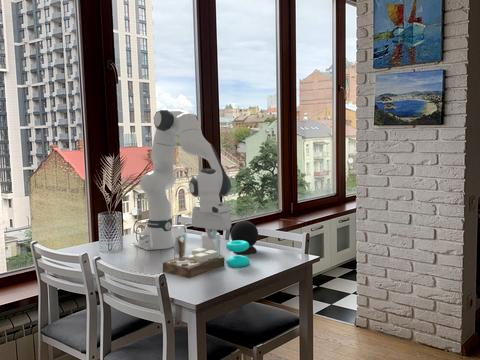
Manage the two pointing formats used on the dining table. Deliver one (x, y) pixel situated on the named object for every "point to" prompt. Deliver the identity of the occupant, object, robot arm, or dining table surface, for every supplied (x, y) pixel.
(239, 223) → the black ball on stand
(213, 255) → the button
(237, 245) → the donuts
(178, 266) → the board
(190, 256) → the button
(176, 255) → the beer glass
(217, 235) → the mug
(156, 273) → the dining table surface
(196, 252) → the button
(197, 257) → the button
